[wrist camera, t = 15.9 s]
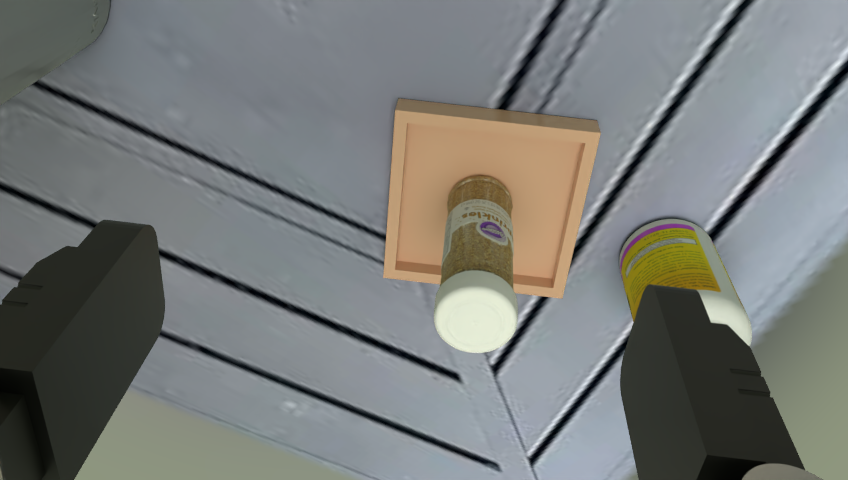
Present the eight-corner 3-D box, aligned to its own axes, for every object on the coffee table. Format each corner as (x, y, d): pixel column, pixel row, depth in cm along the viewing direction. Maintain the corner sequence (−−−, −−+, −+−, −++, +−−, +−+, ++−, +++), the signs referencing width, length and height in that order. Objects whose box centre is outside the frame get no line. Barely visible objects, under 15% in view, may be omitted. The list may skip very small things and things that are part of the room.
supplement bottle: (598, 258, 54) (624, 380, 43) (668, 197, 51) (715, 312, 40) (662, 307, 56) (703, 436, 45) (733, 251, 53) (795, 375, 42)
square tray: (386, 262, 56) (383, 277, 54) (398, 98, 49) (395, 110, 47) (560, 282, 55) (562, 298, 54) (596, 120, 48) (600, 133, 47)
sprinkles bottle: (519, 179, 50) (527, 298, 39) (503, 236, 53) (507, 363, 41) (452, 167, 50) (441, 282, 39) (440, 224, 53) (426, 348, 41)
